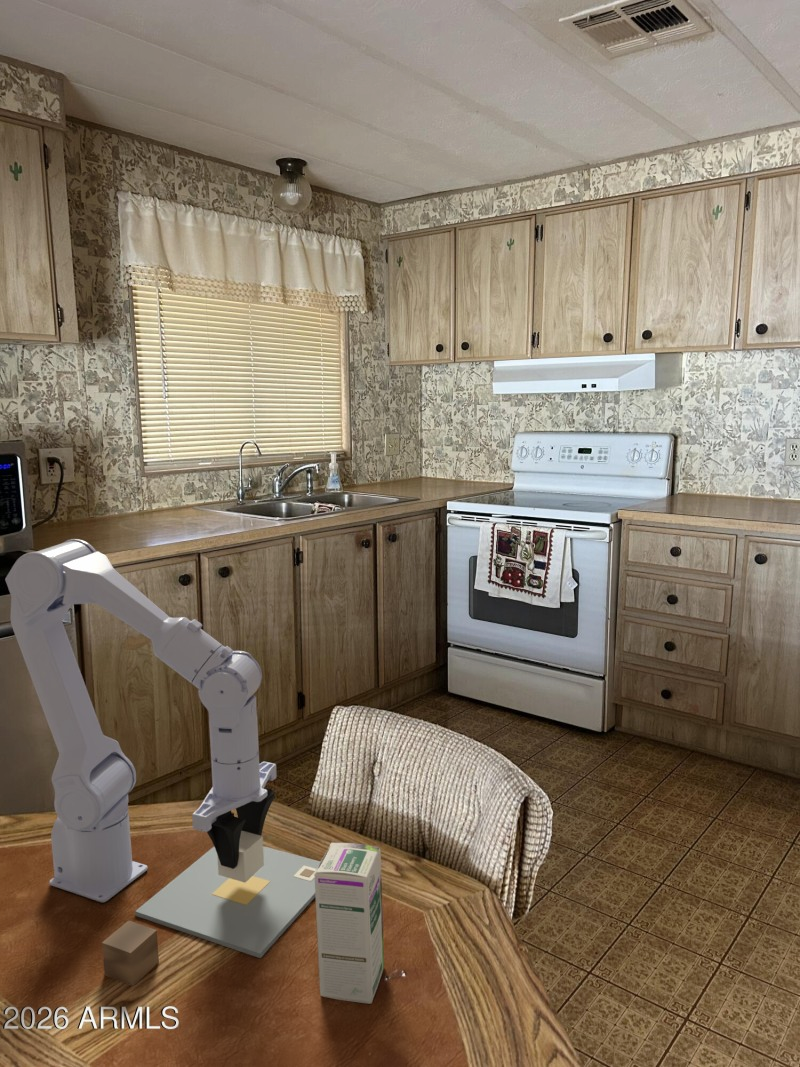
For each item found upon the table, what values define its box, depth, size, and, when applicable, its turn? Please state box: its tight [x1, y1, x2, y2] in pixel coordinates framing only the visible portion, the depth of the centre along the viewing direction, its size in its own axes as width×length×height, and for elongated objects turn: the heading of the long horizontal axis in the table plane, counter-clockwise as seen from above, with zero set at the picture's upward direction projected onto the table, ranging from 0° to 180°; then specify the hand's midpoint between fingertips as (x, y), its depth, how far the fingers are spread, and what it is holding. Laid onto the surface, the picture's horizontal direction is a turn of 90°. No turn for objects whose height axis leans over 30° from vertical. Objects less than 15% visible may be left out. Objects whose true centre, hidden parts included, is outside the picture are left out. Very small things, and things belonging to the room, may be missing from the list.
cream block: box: [217, 831, 264, 883], centre depth 99 cm, size 4×4×4 cm
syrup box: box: [314, 842, 385, 1005], centre depth 84 cm, size 6×6×14 cm
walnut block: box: [101, 920, 160, 987], centre depth 87 cm, size 4×4×4 cm
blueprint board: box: [134, 845, 321, 959], centre depth 100 cm, size 18×18×1 cm
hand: (240, 855), depth 99 cm, fingers closed on cream block, 4 cm apart
